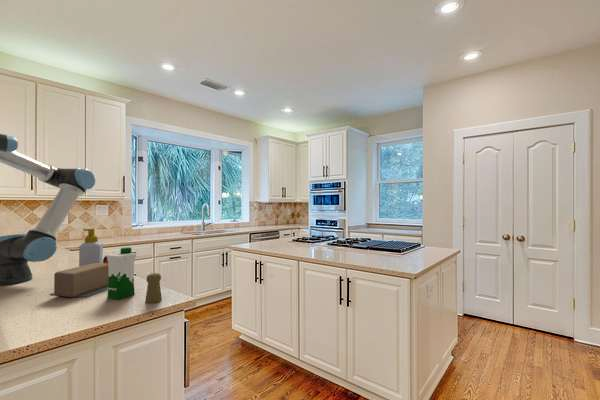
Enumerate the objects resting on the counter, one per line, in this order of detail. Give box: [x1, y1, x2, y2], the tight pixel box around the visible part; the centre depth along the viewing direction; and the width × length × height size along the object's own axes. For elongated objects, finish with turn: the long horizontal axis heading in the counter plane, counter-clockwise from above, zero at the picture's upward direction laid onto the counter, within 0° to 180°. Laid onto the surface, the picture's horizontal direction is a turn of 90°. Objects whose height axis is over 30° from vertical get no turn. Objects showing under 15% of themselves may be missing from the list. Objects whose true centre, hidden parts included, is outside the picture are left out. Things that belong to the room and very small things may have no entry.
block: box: [53, 263, 108, 298], centre depth 130 cm, size 10×10×20 cm
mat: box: [49, 286, 108, 298], centre depth 132 cm, size 18×18×1 cm
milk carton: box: [106, 247, 137, 301], centre depth 123 cm, size 9×9×20 cm
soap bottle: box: [78, 228, 104, 267], centre depth 155 cm, size 9×9×25 cm
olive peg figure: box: [144, 272, 163, 305], centre depth 117 cm, size 6×6×11 cm
